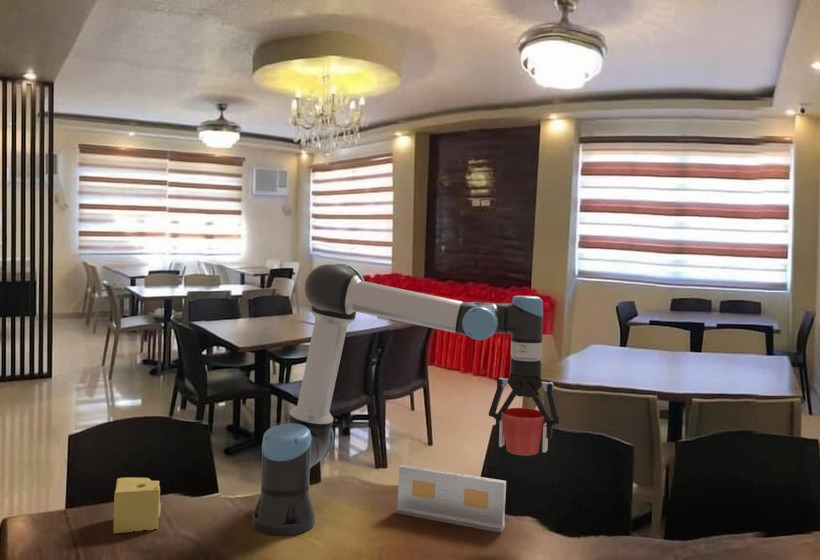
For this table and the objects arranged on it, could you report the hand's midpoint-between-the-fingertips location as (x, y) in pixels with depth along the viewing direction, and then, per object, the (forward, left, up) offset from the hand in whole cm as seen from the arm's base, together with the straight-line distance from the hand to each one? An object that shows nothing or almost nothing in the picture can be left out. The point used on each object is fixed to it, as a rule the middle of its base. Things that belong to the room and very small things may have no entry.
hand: (523, 448), depth 167 cm
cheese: (-85, -38, -21) cm, 95 cm away
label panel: (-18, -1, -21) cm, 27 cm away
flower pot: (0, 0, -1) cm, 1 cm away
